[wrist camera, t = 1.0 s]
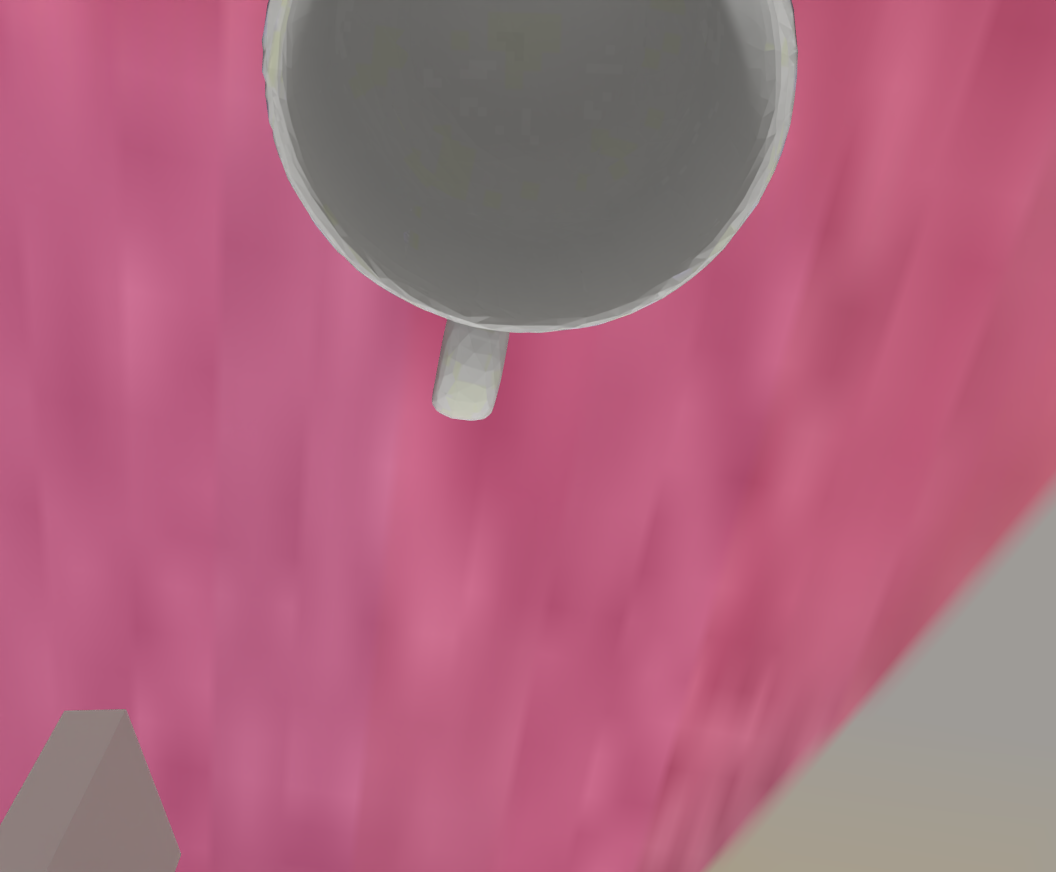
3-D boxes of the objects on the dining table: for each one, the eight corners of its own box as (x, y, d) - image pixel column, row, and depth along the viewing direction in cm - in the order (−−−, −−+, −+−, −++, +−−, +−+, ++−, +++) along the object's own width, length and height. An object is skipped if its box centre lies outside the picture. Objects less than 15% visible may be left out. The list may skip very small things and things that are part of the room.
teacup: (415, -293, 23) (357, -342, 16) (817, -85, 25) (915, -52, 18) (257, 233, 30) (170, 352, 23) (585, 363, 32) (593, 509, 25)
